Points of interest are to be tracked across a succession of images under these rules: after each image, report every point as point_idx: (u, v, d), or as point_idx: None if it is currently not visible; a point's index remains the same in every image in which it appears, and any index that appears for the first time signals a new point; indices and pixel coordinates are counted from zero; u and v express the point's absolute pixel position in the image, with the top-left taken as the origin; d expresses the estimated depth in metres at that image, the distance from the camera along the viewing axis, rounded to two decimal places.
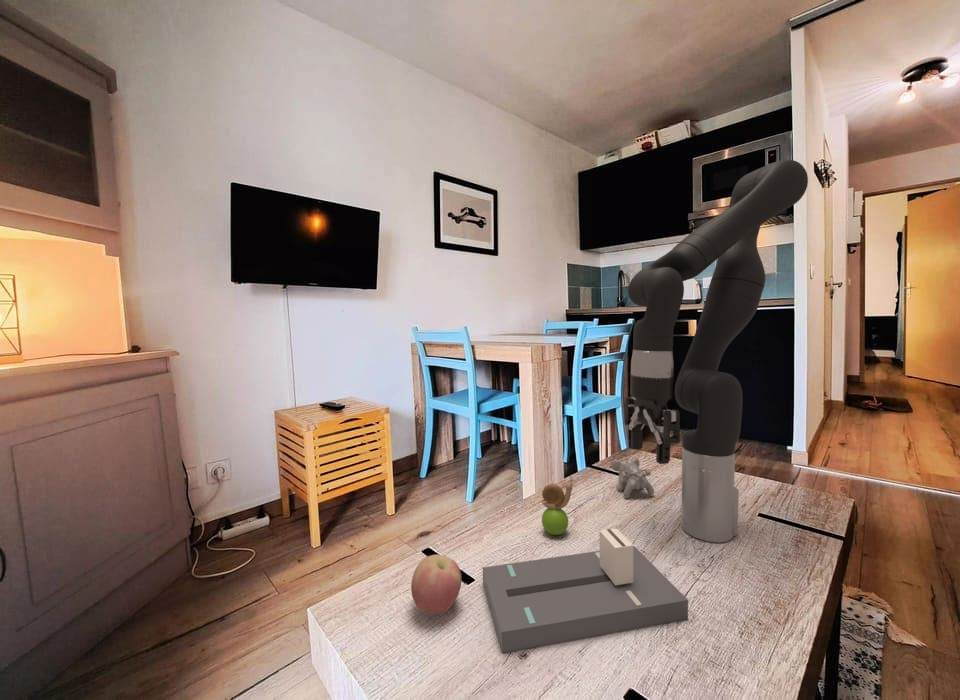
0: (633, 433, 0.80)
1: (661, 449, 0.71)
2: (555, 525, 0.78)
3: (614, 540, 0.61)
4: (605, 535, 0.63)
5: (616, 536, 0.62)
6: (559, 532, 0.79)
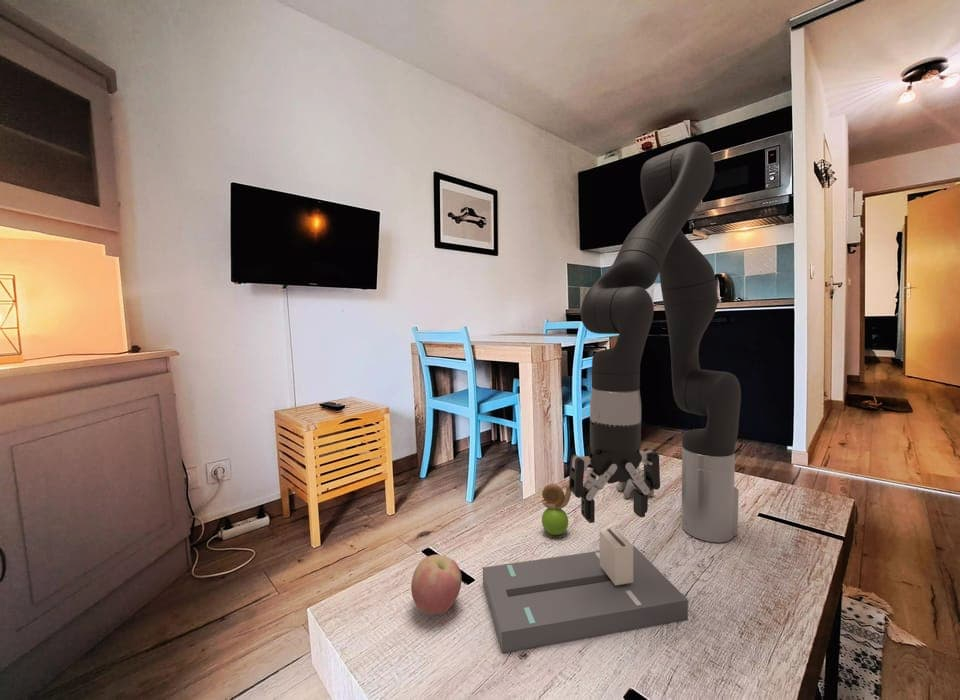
0: None
1: (644, 499, 0.62)
2: (555, 525, 0.78)
3: (614, 540, 0.61)
4: (605, 535, 0.63)
5: (616, 536, 0.62)
6: (559, 532, 0.79)
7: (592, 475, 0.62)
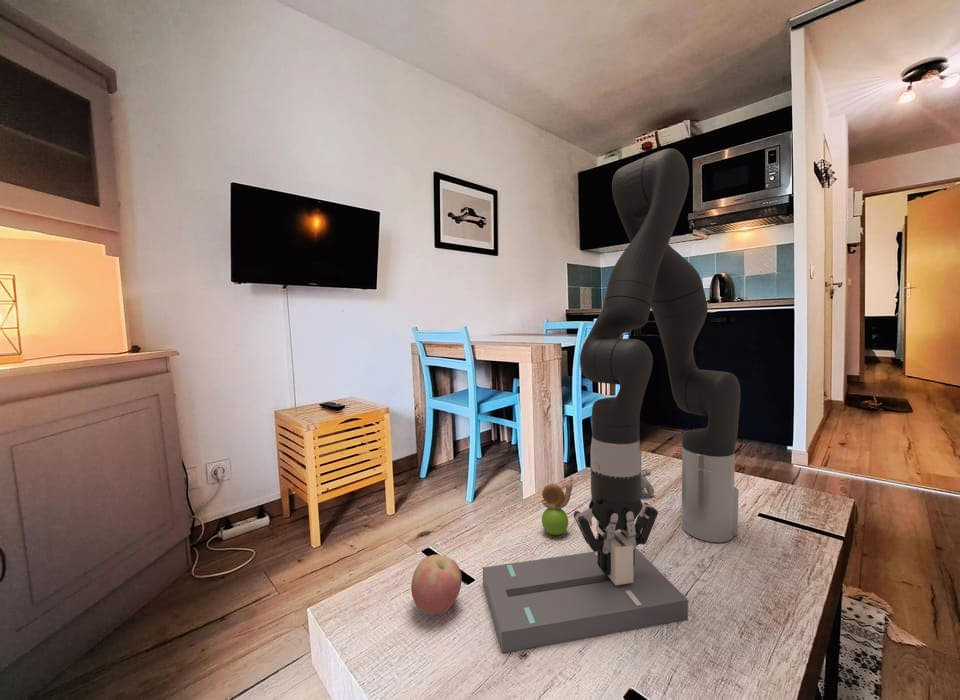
0: None
1: None
2: (555, 525, 0.78)
3: (614, 540, 0.61)
4: None
5: (616, 536, 0.62)
6: (559, 532, 0.79)
7: (600, 525, 0.63)
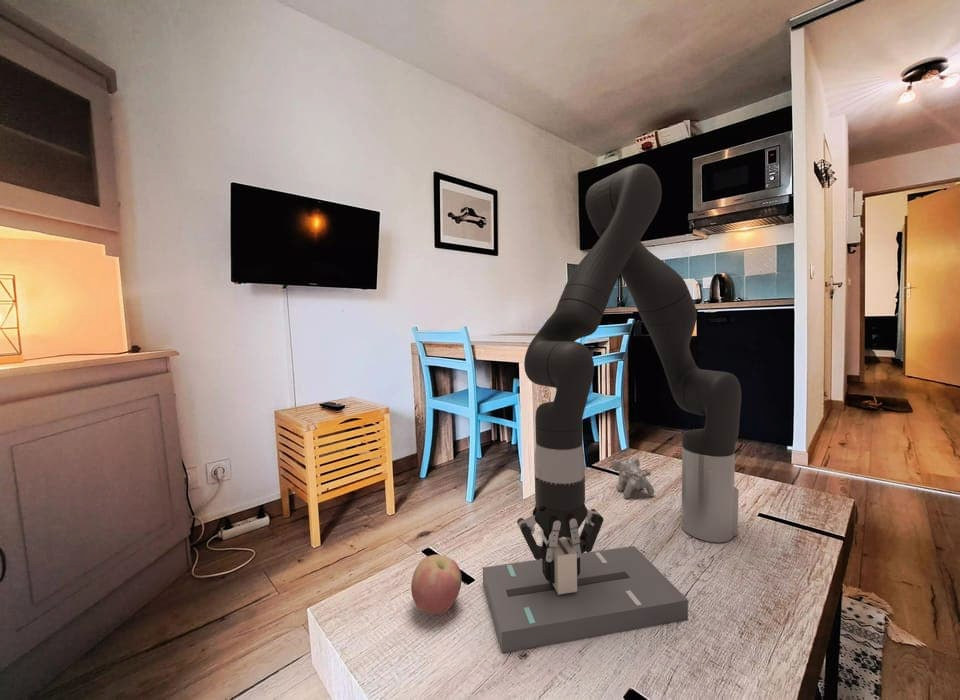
0: None
1: (577, 561, 0.60)
2: None
3: (558, 548, 0.60)
4: None
5: (561, 543, 0.61)
6: None
7: (546, 532, 0.61)
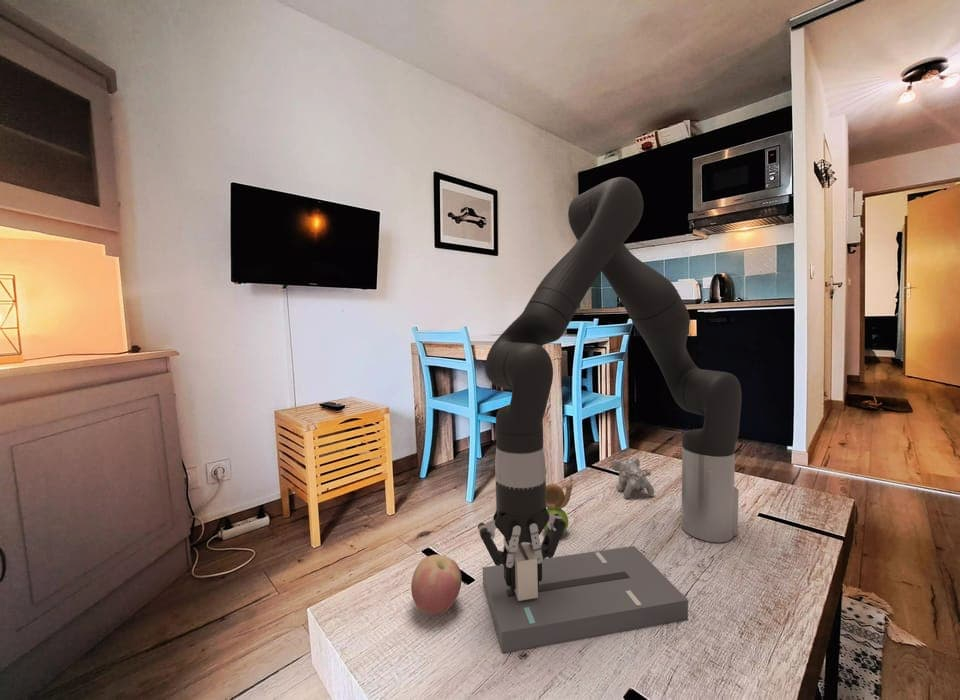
0: (514, 569, 0.58)
1: (538, 567, 0.59)
2: None
3: (519, 553, 0.59)
4: None
5: (523, 549, 0.60)
6: None
7: None
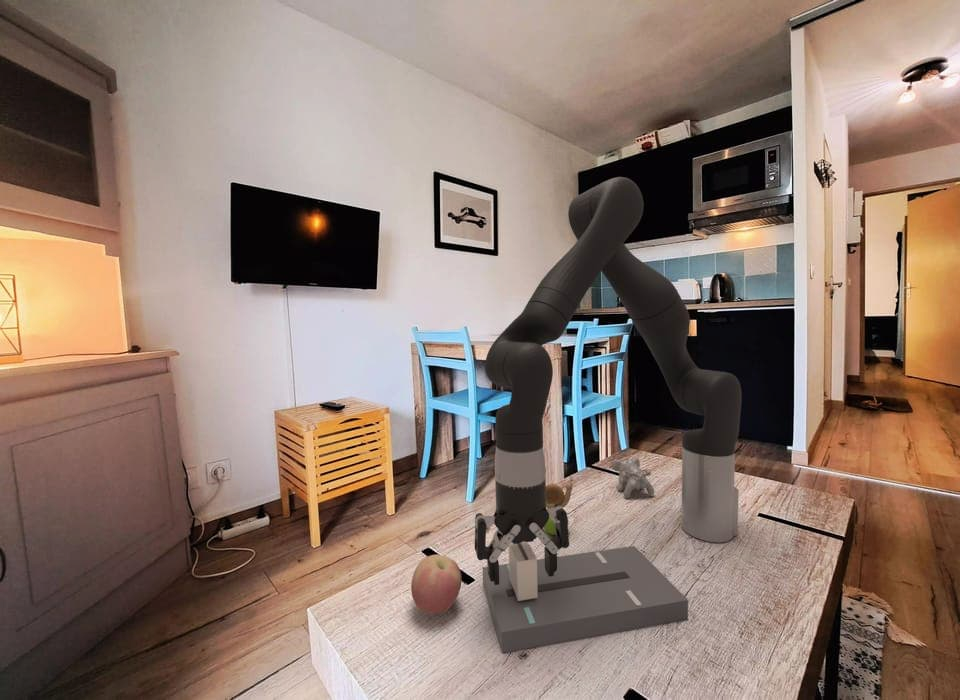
0: None
1: (554, 557, 0.60)
2: None
3: (519, 553, 0.59)
4: (512, 548, 0.60)
5: (523, 549, 0.59)
6: None
7: (499, 534, 0.60)
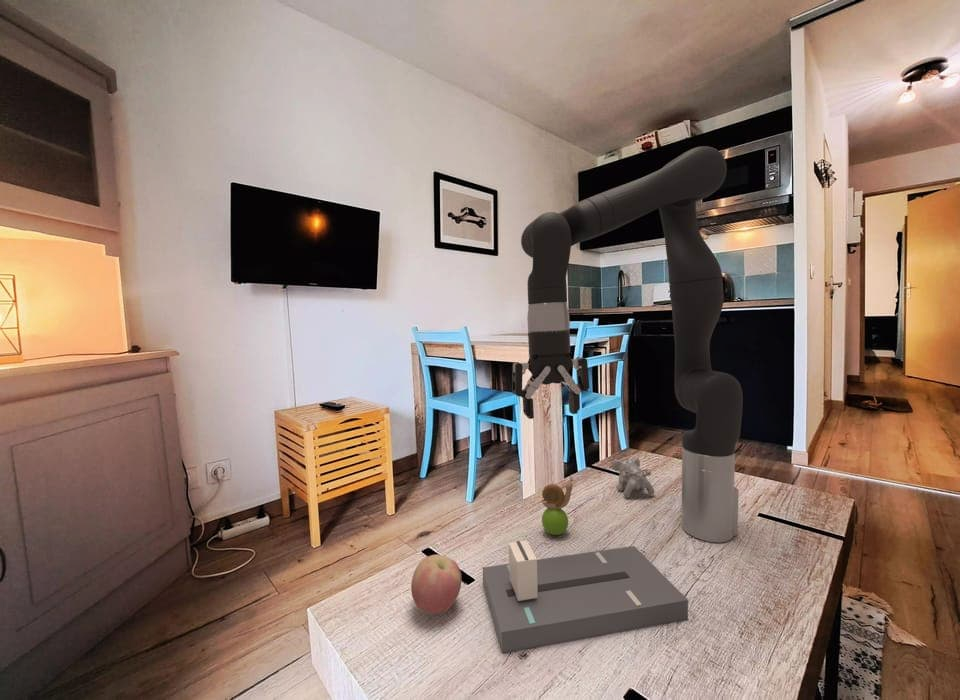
0: (532, 401, 0.71)
1: (577, 398, 0.72)
2: (555, 525, 0.78)
3: (519, 553, 0.59)
4: (512, 548, 0.60)
5: (523, 549, 0.59)
6: (559, 532, 0.79)
7: (532, 380, 0.72)
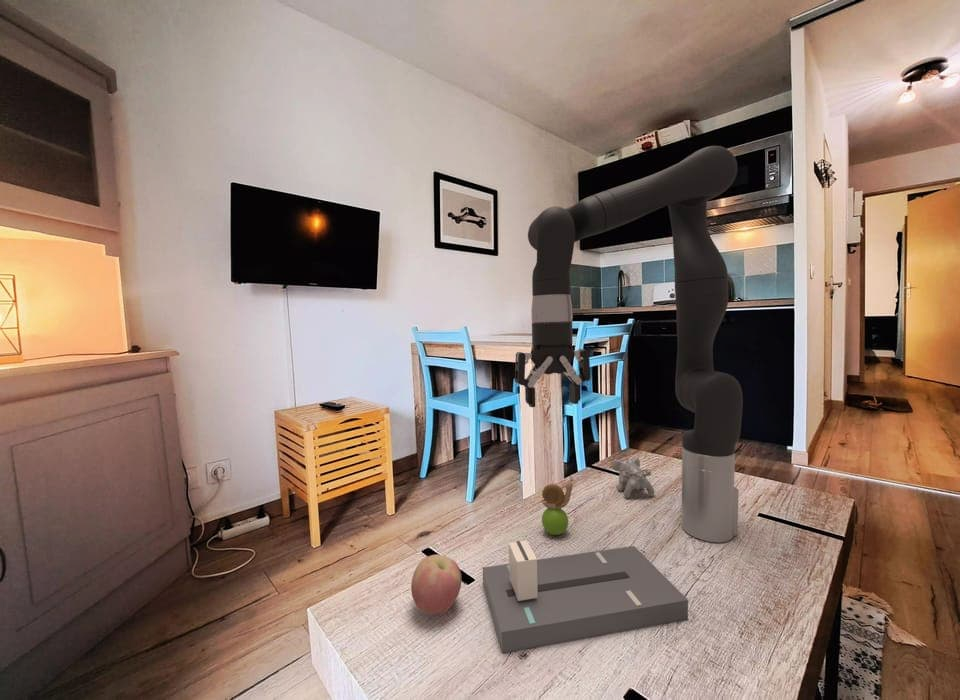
0: (534, 389, 0.73)
1: (578, 389, 0.74)
2: (555, 525, 0.78)
3: (519, 553, 0.59)
4: (512, 548, 0.60)
5: (523, 549, 0.59)
6: (559, 532, 0.79)
7: (534, 370, 0.75)
